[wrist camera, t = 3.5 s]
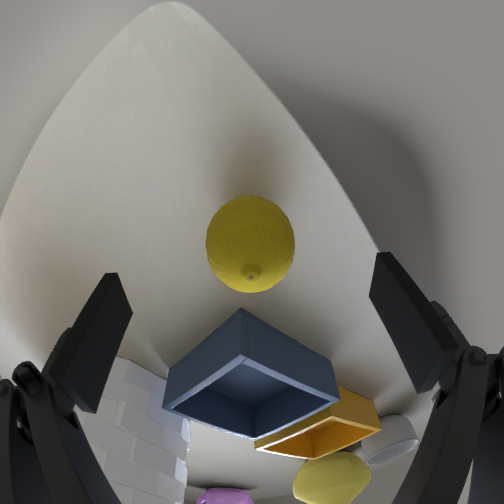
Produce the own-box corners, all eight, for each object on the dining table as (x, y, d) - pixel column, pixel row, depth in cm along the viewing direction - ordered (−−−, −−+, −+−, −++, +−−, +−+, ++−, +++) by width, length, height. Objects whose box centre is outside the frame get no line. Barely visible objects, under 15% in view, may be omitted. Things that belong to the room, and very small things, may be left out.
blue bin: (330, 360, 30) (341, 399, 25) (254, 406, 35) (255, 440, 30) (240, 307, 26) (240, 353, 21) (169, 369, 30) (161, 408, 25)
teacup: (346, 432, 43) (353, 467, 36) (389, 405, 38) (402, 442, 31) (385, 434, 47) (393, 463, 40) (423, 410, 42) (434, 440, 35)
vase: (295, 471, 56) (301, 530, 40) (284, 455, 47) (290, 531, 31) (361, 456, 54) (373, 514, 38) (367, 436, 45) (384, 510, 29)
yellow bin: (373, 401, 37) (382, 429, 32) (309, 434, 41) (313, 460, 37) (323, 378, 32) (331, 415, 27) (253, 418, 37) (254, 449, 32)
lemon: (240, 167, 19) (238, 205, 12) (300, 210, 21) (327, 267, 14) (198, 225, 21) (178, 287, 14) (256, 261, 23) (260, 331, 16)
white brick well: (188, 439, 42) (181, 527, 25) (71, 406, 39) (46, 485, 22) (203, 368, 30) (188, 525, 14) (31, 318, 27) (-31, 430, 10)
